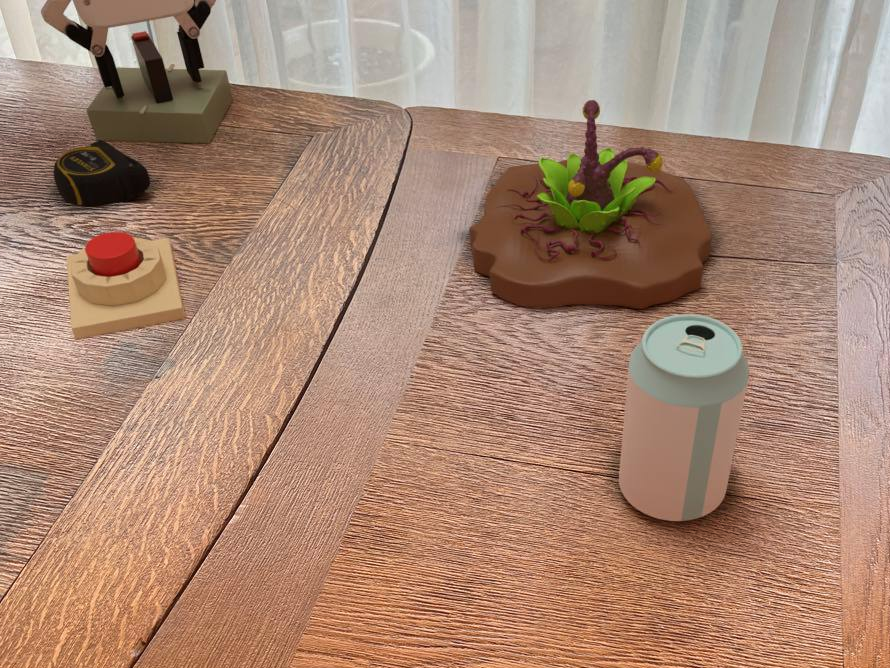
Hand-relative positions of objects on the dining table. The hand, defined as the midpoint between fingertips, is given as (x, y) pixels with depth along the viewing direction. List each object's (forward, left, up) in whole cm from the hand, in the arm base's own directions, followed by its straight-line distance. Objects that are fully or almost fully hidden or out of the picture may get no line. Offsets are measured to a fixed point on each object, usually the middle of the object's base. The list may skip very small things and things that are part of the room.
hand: (156, 83), depth 99 cm
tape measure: (-1, -14, -4) cm, 15 cm away
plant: (+42, -19, -4) cm, 46 cm away
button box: (+6, -30, -4) cm, 31 cm away
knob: (0, 0, -1) cm, 1 cm away
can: (+48, -48, -4) cm, 68 cm away
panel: (0, 0, -4) cm, 4 cm away
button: (+6, -30, 0) cm, 31 cm away
